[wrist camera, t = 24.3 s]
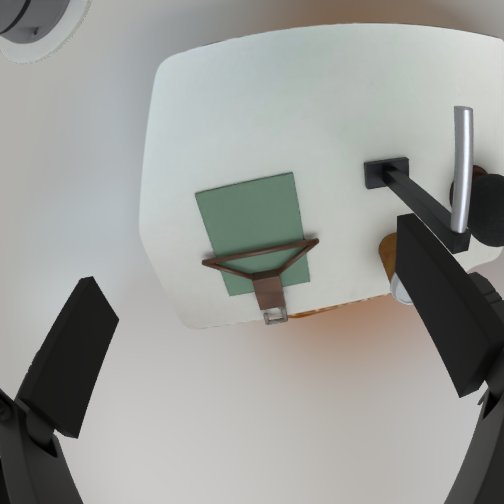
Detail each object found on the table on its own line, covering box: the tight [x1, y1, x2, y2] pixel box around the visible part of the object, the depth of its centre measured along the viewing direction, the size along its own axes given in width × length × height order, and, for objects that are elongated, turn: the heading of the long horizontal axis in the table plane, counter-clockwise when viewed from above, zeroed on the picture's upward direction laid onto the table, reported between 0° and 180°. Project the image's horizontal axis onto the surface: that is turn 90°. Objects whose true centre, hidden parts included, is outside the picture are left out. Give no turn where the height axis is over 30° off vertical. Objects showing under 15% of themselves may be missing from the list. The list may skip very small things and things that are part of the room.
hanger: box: [202, 238, 319, 325], centre depth 58 cm, size 21×2×18 cm
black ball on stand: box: [450, 165, 504, 247], centre depth 42 cm, size 13×13×15 cm
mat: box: [195, 173, 310, 296], centre depth 54 cm, size 22×16×1 cm
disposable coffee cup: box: [379, 233, 413, 305], centre depth 50 cm, size 10×10×12 cm
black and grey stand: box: [364, 106, 473, 254], centre depth 34 cm, size 8×17×23 cm, turn 12°
